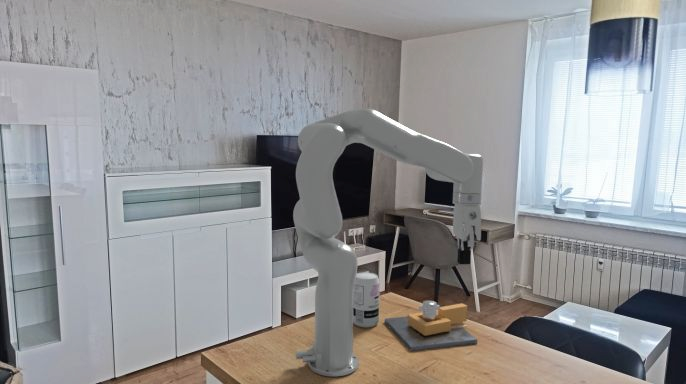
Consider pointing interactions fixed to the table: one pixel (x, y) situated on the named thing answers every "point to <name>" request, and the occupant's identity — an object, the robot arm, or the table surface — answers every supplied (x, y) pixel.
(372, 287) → the supplement can
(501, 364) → the table surface
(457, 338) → the base plate
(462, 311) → the tan wooden bracket
